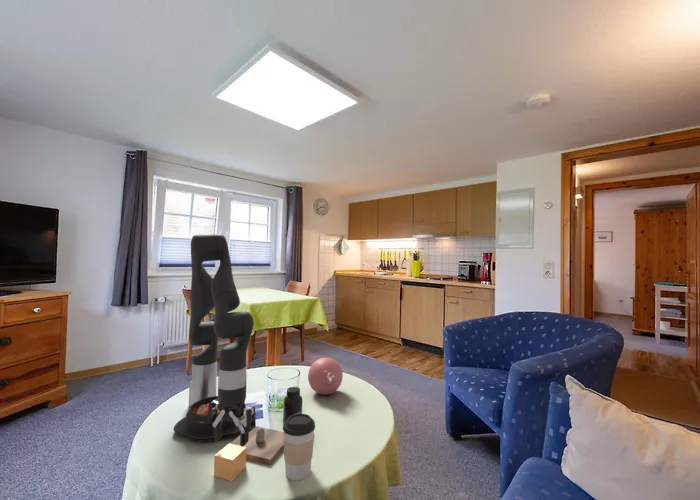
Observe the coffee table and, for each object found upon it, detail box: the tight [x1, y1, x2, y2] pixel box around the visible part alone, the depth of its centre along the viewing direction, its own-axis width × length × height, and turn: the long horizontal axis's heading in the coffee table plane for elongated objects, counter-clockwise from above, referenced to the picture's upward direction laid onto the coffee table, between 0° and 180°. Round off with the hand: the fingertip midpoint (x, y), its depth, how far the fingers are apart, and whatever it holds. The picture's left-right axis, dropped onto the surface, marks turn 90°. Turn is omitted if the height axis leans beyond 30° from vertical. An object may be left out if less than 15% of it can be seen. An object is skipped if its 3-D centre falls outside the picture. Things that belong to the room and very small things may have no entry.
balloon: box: [307, 356, 344, 396], centre depth 137 cm, size 15×20×15 cm
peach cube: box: [213, 442, 247, 482], centre depth 88 cm, size 6×6×6 cm
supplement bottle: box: [282, 386, 303, 423], centre depth 114 cm, size 7×7×12 cm
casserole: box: [173, 395, 245, 440], centre depth 109 cm, size 25×19×8 cm
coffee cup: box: [282, 413, 316, 481], centre depth 88 cm, size 9×9×15 cm
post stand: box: [229, 425, 284, 466], centre depth 100 cm, size 16×14×6 cm
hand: (230, 442), depth 87 cm, fingers open, 8 cm apart
